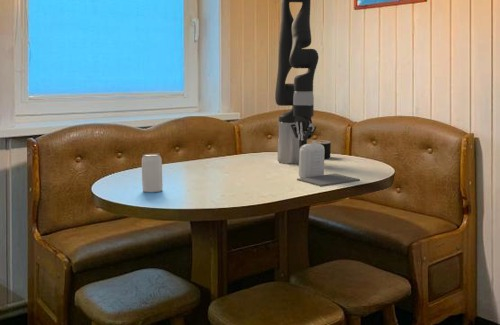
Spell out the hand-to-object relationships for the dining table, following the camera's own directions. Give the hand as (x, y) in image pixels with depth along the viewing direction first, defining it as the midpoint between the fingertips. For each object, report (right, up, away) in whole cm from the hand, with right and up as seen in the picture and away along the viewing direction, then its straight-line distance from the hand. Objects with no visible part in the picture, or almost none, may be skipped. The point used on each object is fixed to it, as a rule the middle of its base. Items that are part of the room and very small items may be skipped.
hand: (302, 150), depth 207 cm
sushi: (+12, -3, +40) cm, 42 cm away
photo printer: (+3, -10, -3) cm, 11 cm away
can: (-52, -14, -26) cm, 60 cm away
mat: (+8, -11, -11) cm, 17 cm away
